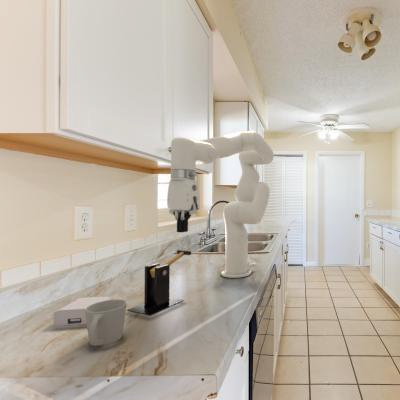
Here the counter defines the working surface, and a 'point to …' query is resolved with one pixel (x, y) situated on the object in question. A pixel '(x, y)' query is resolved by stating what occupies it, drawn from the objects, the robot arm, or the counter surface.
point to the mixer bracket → (156, 291)
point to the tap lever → (180, 254)
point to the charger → (76, 311)
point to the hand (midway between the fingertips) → (182, 231)
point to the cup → (105, 321)
